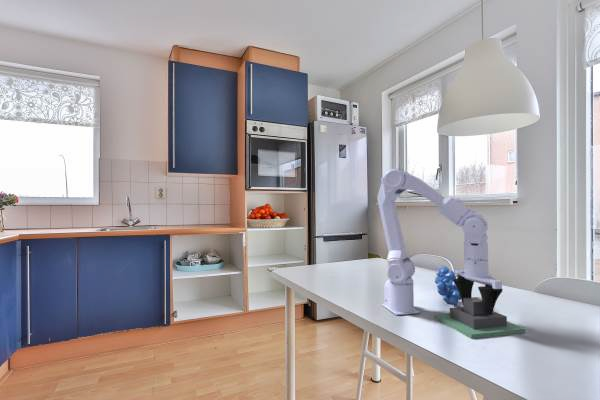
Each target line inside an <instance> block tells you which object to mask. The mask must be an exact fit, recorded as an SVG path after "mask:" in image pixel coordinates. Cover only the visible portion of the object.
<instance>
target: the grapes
mask: <svg viewBox="0 0 600 400" xmlns="http://www.w3.org/2000/svg"><path fill="white" fill-rule="evenodd" d="M435 272H436V277H434V278H435V279H434V283H435V285H436V287H437V293H438V294H439V295H440V296H441V297H442V300H443V301H444V302H445V303H446V304H451V305H453V306H457V305H458V304H459V301H460V300H461V296H460V293H459V290H458V288H457V286H456V284H455V283H454V281H453V279H457V277H456V276H455V271H454V270H450V268H448V267H447V266H444V265H443V266H442V267H441V268H437V270H436V271H435ZM461 301H462V300H461Z"/></svg>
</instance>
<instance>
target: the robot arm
mask: <svg viewBox="0 0 600 400" xmlns="http://www.w3.org/2000/svg"><path fill="white" fill-rule="evenodd" d="M380 180H381V184H380V187H379V190H378V194H377V198H376V199H377V203H378V208H379V209H378V210H379V213H380V219H381V222H382V227H383V232H384V237H385V242H386V247H387V251H388V254H387V258H386V263H387V267H386V271H385V272H386V275H387V278H388V279H387V280H386V282H385V283H384V288H383V289H384V293H383V294H384V303H382V304H381V305H382V307H384V308H385V309H387V310H389V312H391V313H393V314H394V315H395V316H402V315H403V316H405V315H414V314H420V312H421V311H420V310H418V309H416V308H415V306H414V305H415V303H414V299H415V298H414V293H415V292H414V280H413V278H412V277H413V276H414V274H415V272H416V266H415V264H414V262H413V261H412V260H411V257H410V254H409V252H408V251H407V249H406V246H405V242H404V237H403V232H402V227H401V224H400V219H399V218H400V217H399V215H398V211H397V205H396V200H397V199H398V198H399V196H400V195H401V194H402V193H403V192H405V191H407V190H409V191H415V192H416V193H418V194H419V195H421V196H423V198H426V199H427V200H429V201H430V202H432V204H435V205H436V206H437V209H438V212H439V214H441V215H442V216H443V217H445V218H446V219H447V220H449V221H450V222H451V223H453V224H454V225H456V226H457V227H461V230H462V232H463V233H464V241H463V259H464V260H463V264H464V268H463V269H454V272H455V276H456V279H453V281H454V283H455V284H456V286H457V288H458V290H459V293H460V296H461V303H462V305H463V306H464V304H463V298H472V291H473V287H474V284H475V283H478V284H481V286H478V287H477V289H478V291H479V293H480V296H481V297H480V298H482V304H483V312H484V314H492V313H493V311H494V309H495V306H496V302H497V301H498V299H499V297H500V295H501V294H502V292H503V281H502V280H499V279H496V278H495V277H492V275H491V274H489V243H488V235H487V232H488V229H489V223H488V220H487V219H486V218H485V217H484V216H483V215H481V214H477V210H475V209H471V208H469V207H468V206H467V205H465V204H464V203H462V200H461V199H460V198H454V197H453V196H452V197H451V196H450V197H445V196H443V195H442V194H441V193H440V192H438V190H436V189H434V188H433V187H432V186H430V185H429V184H428V183H426V182H425V181H424V180H422V179H421V178H419V177H417V176H415V175H413V174H410V172H409V171H404V170H401V169H399V168H391V169H389V170H387V171H386V172H385V173H384V175H383V176H382V177H381V179H380ZM482 285H483V286H482Z"/></svg>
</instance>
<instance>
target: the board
mask: <svg viewBox="0 0 600 400" xmlns="http://www.w3.org/2000/svg"><path fill="white" fill-rule="evenodd" d="M434 319H436V320H437V321H439V322H441V323H443V324H445V325H446V326H448V327H450V328H452V329H453V330H455V331H457V332H459V333H461V334H462V335H464V336H466V337H467V338H469V339H480V338H489V337H498V336H501V337H502V336H508V335H518V334H526V328H525V327H521V326H519V325H517V324H515V323H512V322H510V321H508V320H507V319H508V316H507V315H503V314H501V313H499V312H497V311H495V310H493V313H492V314H489V315H484V316H472V315H470V314H468V313H466V312H464V306H460V307H459V306H458V307H457V306H455V307H449V313H438V314H434Z"/></svg>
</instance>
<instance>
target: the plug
mask: <svg viewBox="0 0 600 400" xmlns="http://www.w3.org/2000/svg"><path fill="white" fill-rule="evenodd" d="M463 304H464V305H463ZM462 305H463V307H464V312H466V313H468V314H470V315H472V316H484V315H489V314H484V312H483V304H482V297H479V296H477V297H476V296H475V297H472V296H471V298H463V303H462Z"/></svg>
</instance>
